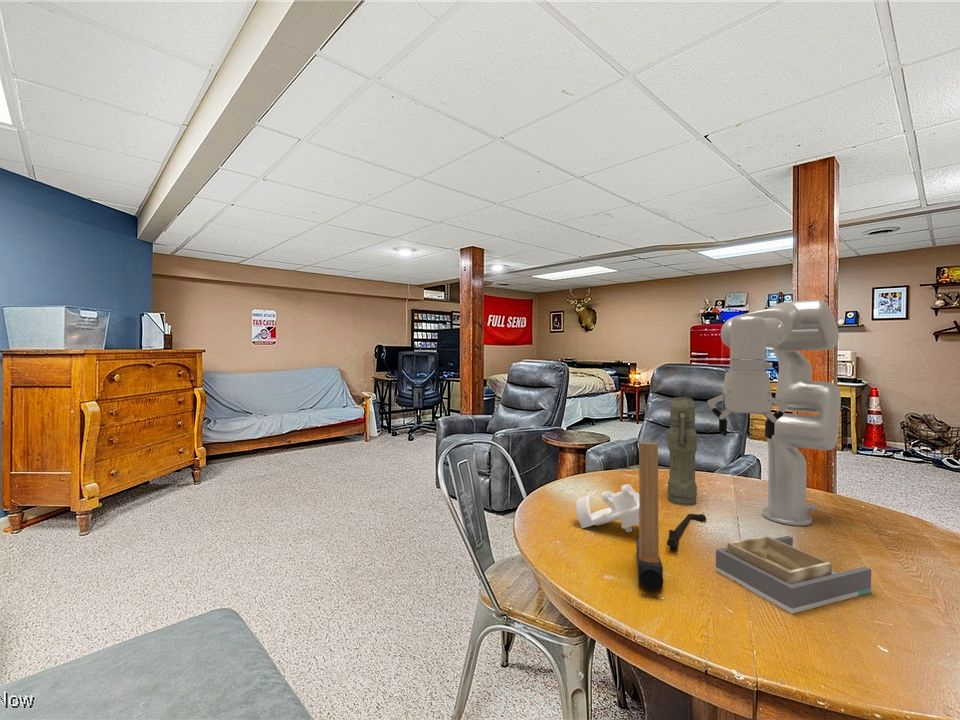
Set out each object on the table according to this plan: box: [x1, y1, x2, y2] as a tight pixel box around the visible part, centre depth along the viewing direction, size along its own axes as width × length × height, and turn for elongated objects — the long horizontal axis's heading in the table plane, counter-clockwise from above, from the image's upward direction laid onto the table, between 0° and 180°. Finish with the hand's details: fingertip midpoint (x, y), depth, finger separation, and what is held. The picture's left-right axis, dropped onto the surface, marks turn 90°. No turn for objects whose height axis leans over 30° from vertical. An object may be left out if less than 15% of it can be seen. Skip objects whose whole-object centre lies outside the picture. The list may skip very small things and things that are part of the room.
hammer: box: [635, 441, 664, 592], centre depth 105 cm, size 20×5×30 cm, turn 162°
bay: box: [715, 535, 872, 615], centre depth 100 cm, size 23×18×5 cm
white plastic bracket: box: [575, 483, 639, 533], centre depth 129 cm, size 20×11×13 cm, turn 55°
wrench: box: [666, 513, 707, 552], centre depth 124 cm, size 5×5×30 cm
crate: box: [726, 535, 833, 584], centre depth 98 cm, size 12×15×6 cm
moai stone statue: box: [667, 396, 698, 506], centre depth 152 cm, size 9×12×35 cm
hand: (745, 436), depth 111 cm, fingers open, 9 cm apart
